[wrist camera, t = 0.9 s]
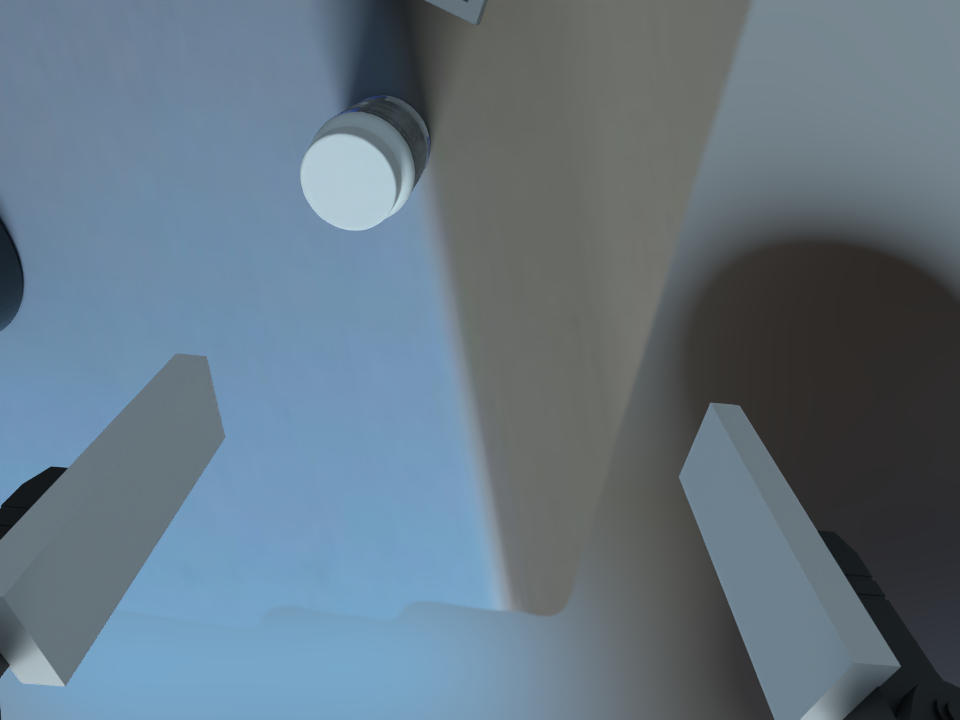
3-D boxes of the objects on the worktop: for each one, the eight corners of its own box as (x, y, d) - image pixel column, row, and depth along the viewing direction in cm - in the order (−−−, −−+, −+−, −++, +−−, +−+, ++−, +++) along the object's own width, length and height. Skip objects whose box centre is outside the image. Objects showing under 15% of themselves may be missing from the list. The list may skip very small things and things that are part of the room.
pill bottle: (370, 73, 27) (321, 93, 20) (447, 131, 28) (427, 170, 21) (328, 153, 29) (271, 197, 22) (402, 204, 30) (370, 260, 23)
